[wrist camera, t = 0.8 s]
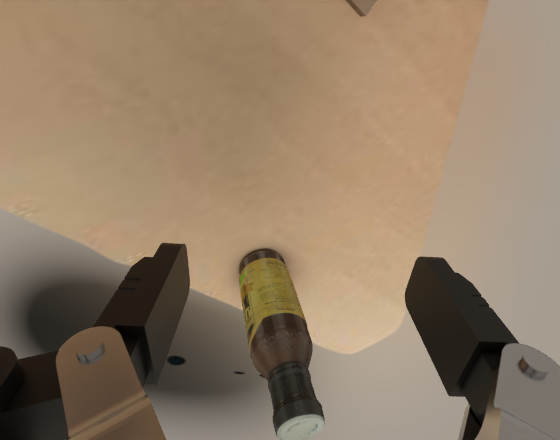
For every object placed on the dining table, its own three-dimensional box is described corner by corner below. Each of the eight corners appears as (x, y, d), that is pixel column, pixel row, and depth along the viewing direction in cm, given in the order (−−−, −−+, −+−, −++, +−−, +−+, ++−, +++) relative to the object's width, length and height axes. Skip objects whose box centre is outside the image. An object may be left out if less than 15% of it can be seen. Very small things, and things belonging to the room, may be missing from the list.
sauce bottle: (230, 258, 40) (247, 424, 23) (277, 240, 40) (329, 392, 23) (248, 292, 43) (274, 459, 26) (291, 276, 43) (345, 431, 26)
